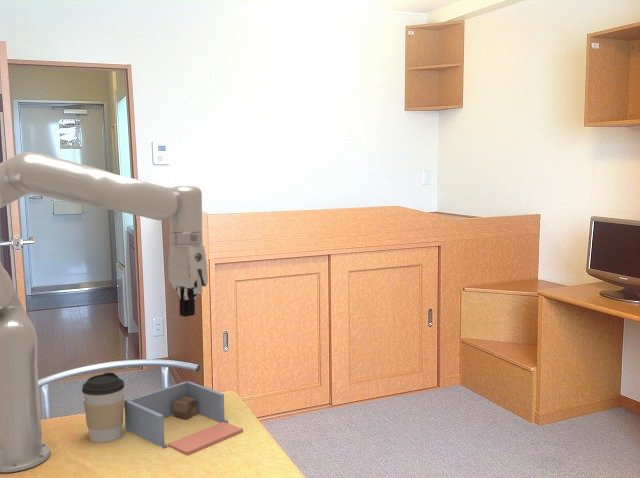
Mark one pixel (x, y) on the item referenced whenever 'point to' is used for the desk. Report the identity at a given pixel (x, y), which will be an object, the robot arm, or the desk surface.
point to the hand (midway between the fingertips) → (187, 315)
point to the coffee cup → (104, 407)
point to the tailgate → (205, 438)
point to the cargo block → (185, 408)
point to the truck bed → (169, 409)
